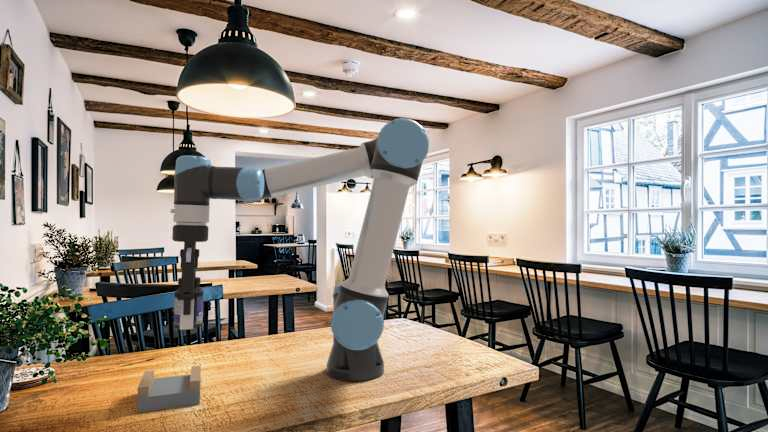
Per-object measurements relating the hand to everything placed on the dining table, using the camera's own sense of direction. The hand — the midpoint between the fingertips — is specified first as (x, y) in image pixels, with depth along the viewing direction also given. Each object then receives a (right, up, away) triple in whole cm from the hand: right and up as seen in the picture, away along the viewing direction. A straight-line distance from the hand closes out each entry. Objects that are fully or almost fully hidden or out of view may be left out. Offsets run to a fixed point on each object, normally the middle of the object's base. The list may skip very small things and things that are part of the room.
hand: (187, 325), depth 103 cm
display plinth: (-3, -16, -1) cm, 16 cm away
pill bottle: (0, -1, 0) cm, 1 cm away
